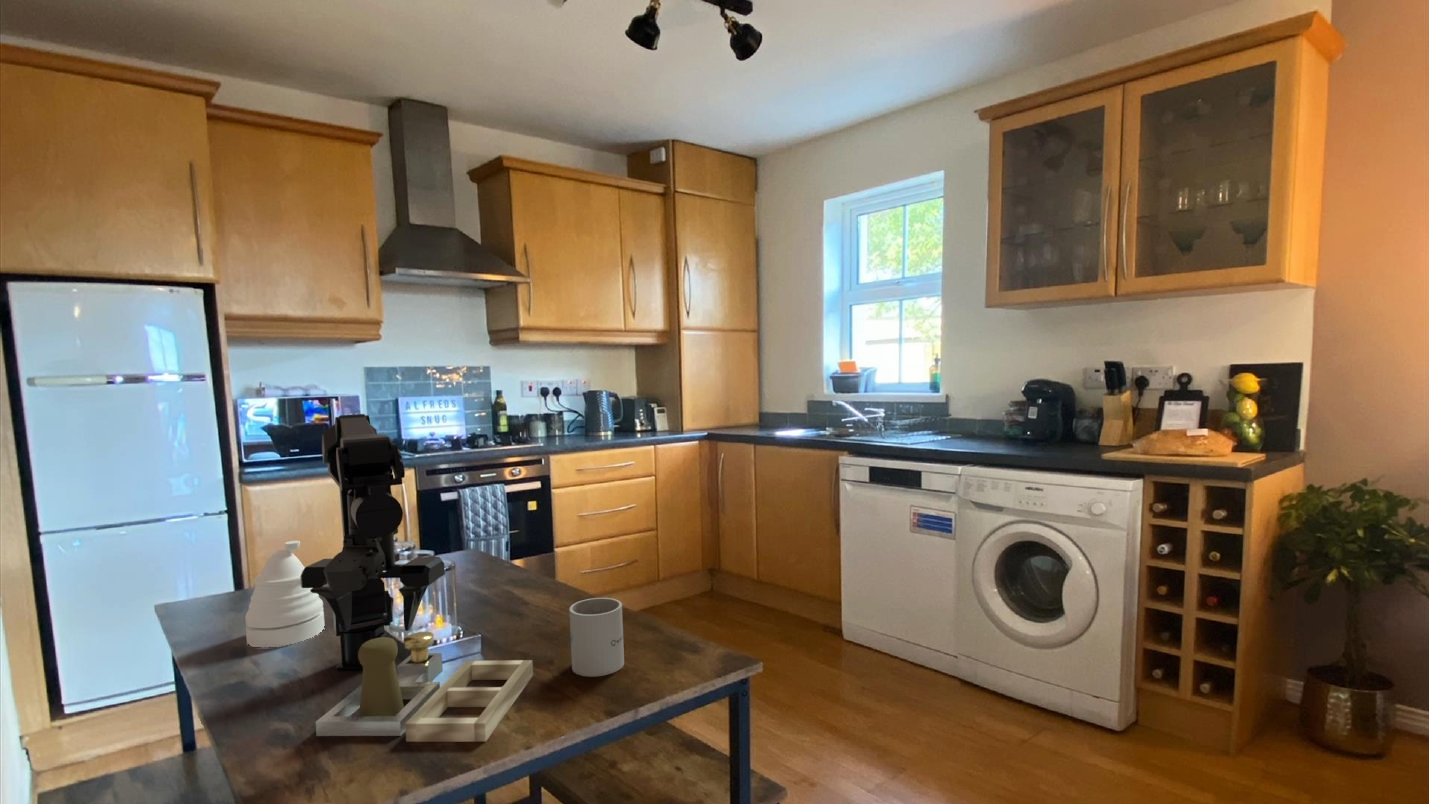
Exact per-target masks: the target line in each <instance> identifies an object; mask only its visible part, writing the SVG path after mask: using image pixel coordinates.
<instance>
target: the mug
mask: <svg viewBox="0 0 1429 804" xmlns="http://www.w3.org/2000/svg"><path fill="white" fill-rule="evenodd" d="M568 609H569V627H570V629H569V631H570V648H571V649H570V652H571V669H572V672H573V673H574V674H576V675H578V676H582V677H590V678H591V677H602V676H607V675H611V674H614V673H617V672H618V671H619V670H621V669H622V668H623V667H624V666H625V654H624V653H625V651H624V626H623V625H624V623H623V603H622V602H621V601H620V600H618V599H615V598H612V597H611V598H610V597H594V598H593V597H592V598H587V599H584V600H579V601H577V602H575V603H572V604H571V606H570V607H569V608H568Z"/></svg>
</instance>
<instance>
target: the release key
mask: <svg viewBox="0 0 1429 804" xmlns="http://www.w3.org/2000/svg"><path fill="white" fill-rule="evenodd" d="M433 644H434V633H433V632H430V631H417V632H414V633H409V634H408V635H406V636H405V637H404V638H403V645H404V647H403V648H404V649H406V650H410V655H411V664H425V663H426V662H427V661H428V660H429V658H428V653H429V647H430V646H431V645H433Z"/></svg>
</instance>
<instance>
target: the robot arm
mask: <svg viewBox="0 0 1429 804" xmlns="http://www.w3.org/2000/svg"><path fill="white" fill-rule="evenodd" d="M370 420H371V419H370V415H369V414H364V413H358V414H357V413H356V414H355V413H354V414H353V413H352V414H341V415H340V414H339V416H335V418H334V424H332V425H331V426H330V427H329V428H328V429H326V430H325V431H324V432H323V433H322V438H321V439H322V440H321V441H322V442H321V452H322V453H321V454H322V463H323V464H322V465H327V473H328V475H329V476H330V478H331V479H333V481H334V483H335V484H336V485H337V486H338V488H339V497H340V499H339V500H340V510H341V511H340V512H341V525H342V539H343V540H342V543H343V544H342V548H341V551H340V552H338V553H336V555H334V556H333V558H322V559H321V560H319V561H316V562H314V563H311V564H310V565H307V566H304V567H305V568H304V570H303V571H302V574H301V576H300V577H301V587H302V588H312V589H311V590H310V591H311V592H312V593H317V594H319V596H321V597H322V598H324V599H325V600H326V602H327V604H329V607H330V608H331V610H332V620H333V622H332V623H333V630H334V633H335V637H339V640H340V659H341V662H340V663H339V664H338V665H336V666H335V669H336V670H338V671H340V670H343V671H344V670H350V671H351V670H363V666H362V665H361V664H360V661H359V659H358V652H359V649H360V647H361V645H362V644H364V643H365V642H367V641H369V640H372V639H375V638H381V637H388V633H387V632H385V627H386V626H387V627H389V626H391V623H392V622H394V617H393V613H394V611H393V610H394V598H393V596H392V595H391V594H390V593H389V590H388V589H385V587H386V585H385V581H384V580H383V579H399V582H400V583H401V584H402V585H403V586H402V587H400V588H398V591H399V593H400V594H401V596H402V601H403V609H402V610H403V626H404V631H406V632H408V631H410V630H411V629H412V627H413V624H414V621H415V619H416V615H417V613H418V611H419V607H420V604H421V602H422V599H423V597H424V595H425V593H426V592H427V589H428V587H429V586H430V585H432V584H433V583H435V582H436V581H437V580H438V579H440V578H441V577H443V576H445V574H446V570H445V568H446V567H445V566H446V565H445V562H444V561H443V560H442V558H441V557H440V556H417V557H415V558H413V559H412V560H410V561H407V562H406V563H404V564H396V562H399V561H401V560H400V559H401V558H400V553H397V552H395V538H394V537H395V536H394V535H396V534H398V533H399V527H400V525H401V523H402V520H403V517H404V515H403V514H404V511H403V508H402V505H401V503H400V501H398V499H396V497H394V496H393V494H392V486H400V485H403V479H404V478H405V476H406V475H405V474H406V471H405V467H404V461H403V458H402V452H401V450H400V449H399V448H398V445H397V444H396V443H395V442H393V443H392V439H391V437H390V436H389V435H387V434H378V430H377V429H376V428H375V427H374V426H373V425H372V424H371V421H370ZM388 638H389V637H388Z"/></svg>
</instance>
